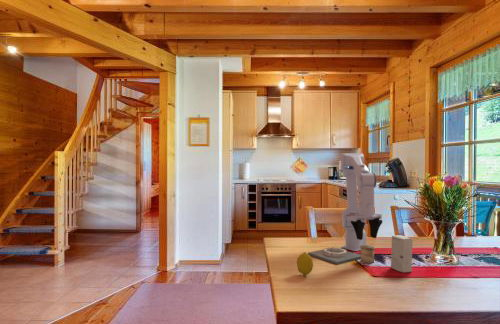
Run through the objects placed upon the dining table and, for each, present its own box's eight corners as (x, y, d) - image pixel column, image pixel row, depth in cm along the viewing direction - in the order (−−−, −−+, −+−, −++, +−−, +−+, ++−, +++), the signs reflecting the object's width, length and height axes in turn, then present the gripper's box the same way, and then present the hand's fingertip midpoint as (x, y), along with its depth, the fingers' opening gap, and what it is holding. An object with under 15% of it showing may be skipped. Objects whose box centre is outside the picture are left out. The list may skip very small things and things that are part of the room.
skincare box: (390, 267, 118) (390, 235, 118) (400, 266, 119) (400, 234, 119) (402, 273, 112) (402, 238, 112) (413, 272, 113) (412, 238, 113)
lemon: (303, 279, 105) (303, 255, 105) (293, 274, 110) (293, 251, 110) (316, 276, 108) (316, 253, 108) (306, 272, 113) (306, 249, 113)
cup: (365, 259, 129) (365, 244, 129) (377, 262, 124) (377, 247, 125) (357, 261, 126) (357, 246, 126) (369, 264, 121) (369, 249, 122)
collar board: (333, 249, 143) (333, 243, 144) (363, 258, 130) (363, 252, 130) (307, 254, 135) (307, 249, 135) (337, 264, 121) (337, 258, 121)
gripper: (360, 205, 117) (361, 242, 117) (387, 203, 124) (388, 238, 123) (347, 203, 124) (347, 238, 123) (373, 202, 130) (373, 235, 130)
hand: (366, 238), depth 124 cm, fingers open, 7 cm apart
